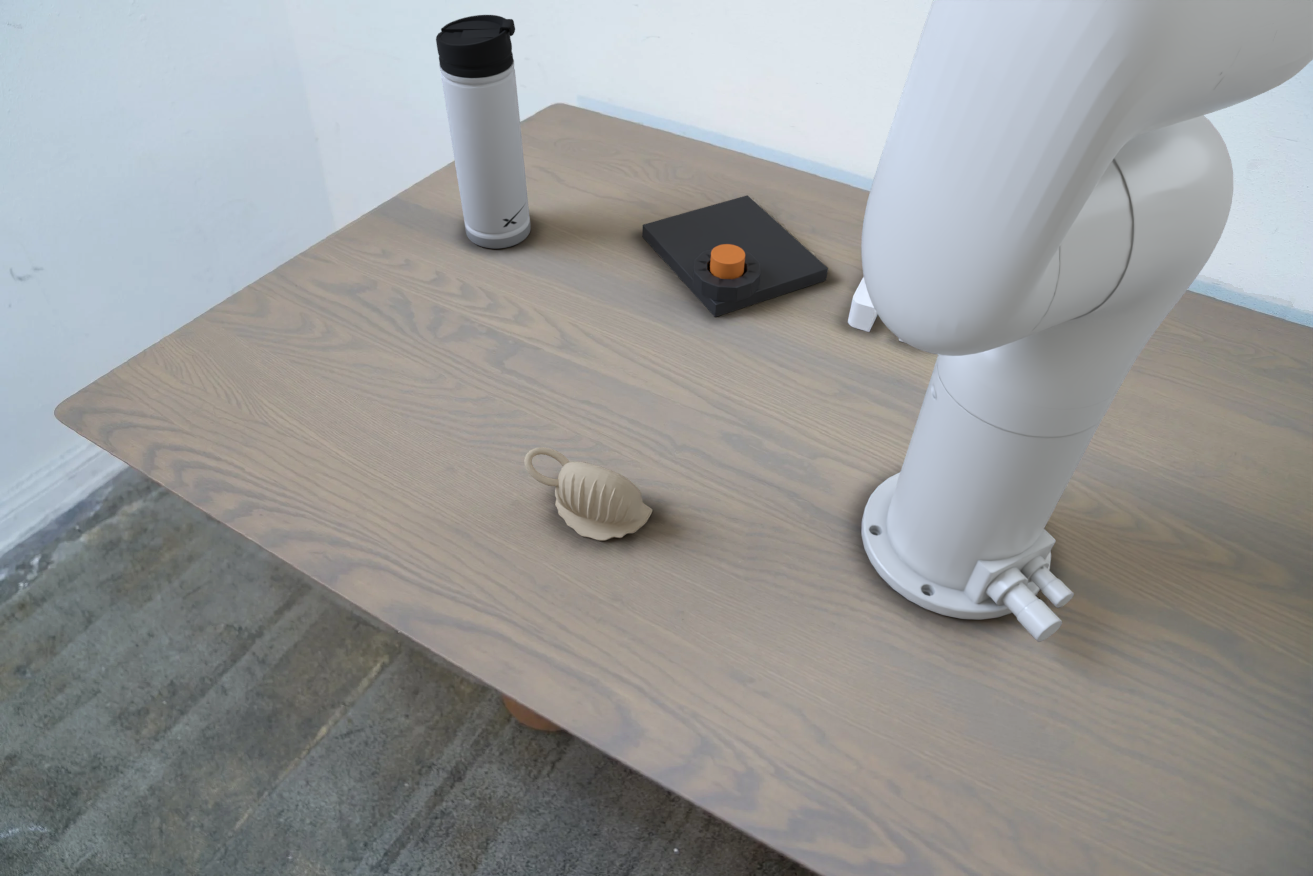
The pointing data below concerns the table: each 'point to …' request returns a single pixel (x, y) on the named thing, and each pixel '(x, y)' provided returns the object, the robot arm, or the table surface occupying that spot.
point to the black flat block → (739, 222)
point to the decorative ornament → (593, 497)
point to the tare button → (727, 261)
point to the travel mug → (485, 128)
